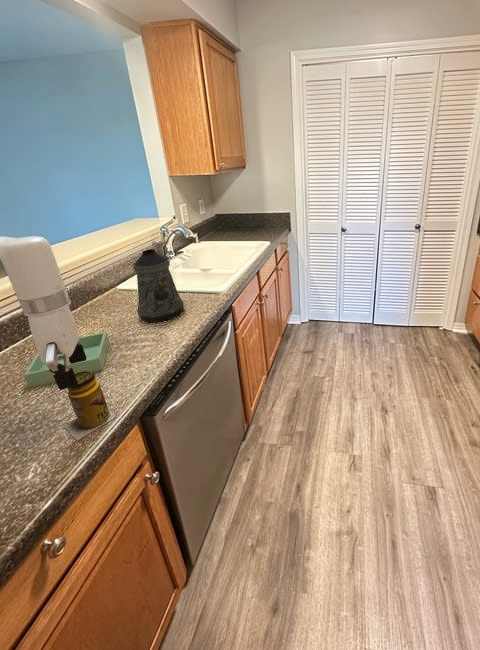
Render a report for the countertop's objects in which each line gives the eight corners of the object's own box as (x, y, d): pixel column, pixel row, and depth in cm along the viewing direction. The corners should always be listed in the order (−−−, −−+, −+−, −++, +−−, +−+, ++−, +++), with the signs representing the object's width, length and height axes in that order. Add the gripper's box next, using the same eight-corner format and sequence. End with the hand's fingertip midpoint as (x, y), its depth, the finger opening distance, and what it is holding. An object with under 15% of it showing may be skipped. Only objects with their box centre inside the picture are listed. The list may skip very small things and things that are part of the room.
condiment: (117, 416, 75) (103, 374, 71) (77, 441, 69) (59, 396, 65) (102, 404, 80) (88, 363, 75) (63, 426, 73) (45, 384, 69)
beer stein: (151, 328, 114) (134, 261, 105) (129, 313, 127) (112, 252, 117) (192, 312, 126) (180, 250, 116) (169, 299, 138) (156, 242, 128)
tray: (29, 387, 87) (23, 375, 85) (46, 356, 101) (42, 344, 100) (102, 370, 93) (98, 358, 91) (109, 342, 107) (106, 331, 106)
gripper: (36, 290, 69) (63, 357, 75) (4, 324, 54) (41, 405, 61) (77, 283, 71) (99, 349, 78) (56, 314, 57) (87, 392, 63)
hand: (74, 373), depth 69 cm, fingers open, 9 cm apart
